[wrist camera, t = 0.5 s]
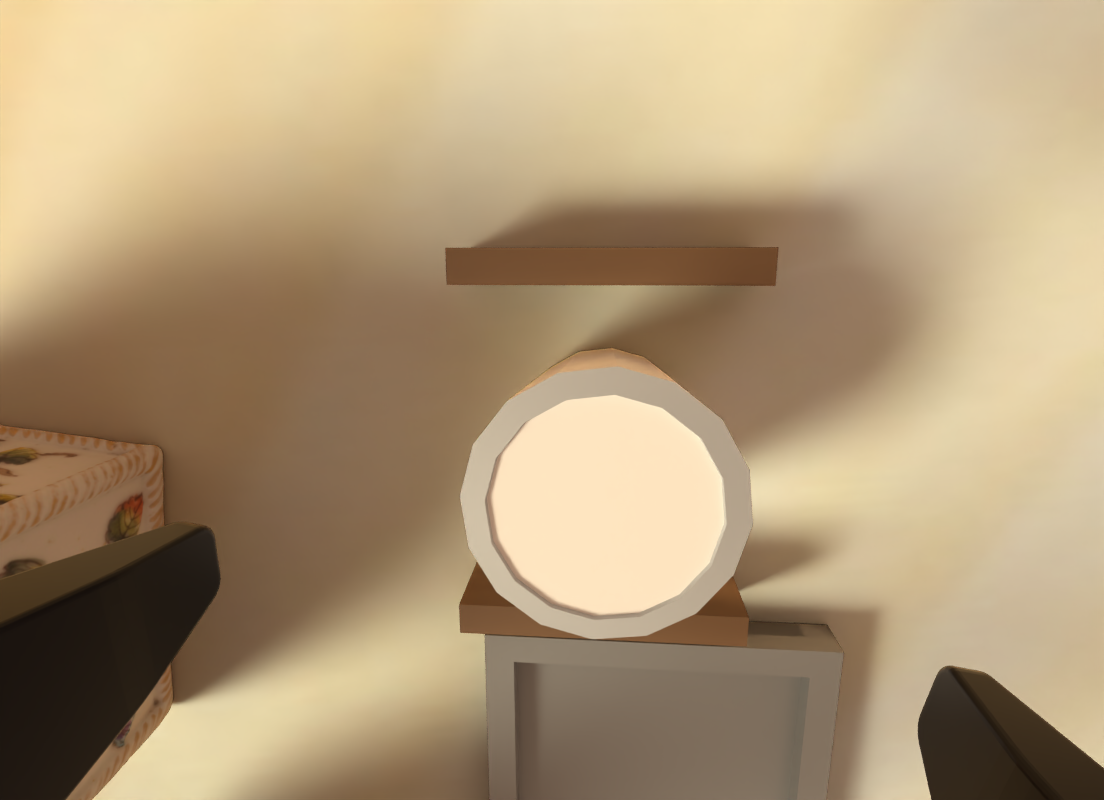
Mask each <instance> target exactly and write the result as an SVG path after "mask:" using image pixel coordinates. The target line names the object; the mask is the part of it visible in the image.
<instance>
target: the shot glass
mask: <svg viewBox="0 0 1104 800" xmlns="http://www.w3.org/2000/svg"><path fill="white" fill-rule="evenodd" d="M460 500H461V506H462V512H463V518H464V524H465V530H466V536H467V542H468V547H469V549H470V551H471V553H472V554H473V556H474V557H475V559H476V560H477V562H478V564H479V565H480V567H481V568H482V570H483V572H484V573H485V575H486V576H487V578H488V579H489V581H490V583H491V584H492V586H493V587H494V589H495V590H496V592H497V593H498V594H500V595H501V596H502V597H504V598H505V599H506V600H508V601H509V602H510V603H512V604H513V605H514V606H516V607H517V608H519V609H520V610H521V611H523V612H524V613H525V614H527V615H528V616H529V617H531V618H532V619H533V620H535V621H536V622H538V623H539V624H541V625H544V626H548V627H551V628H555V629H558V630H562V631H565V632H568V633H572V634H575V635H579V636H582V637H586V638H589V639H605V638H621V637H636V636H647V635H649V634H652V633H654V632H656V631H658V630H661V629H663V628H665V627H667V626H670V625H672V624H674V623H676V622H679V621H681V620H683V619H685V618H688V617H690V616H692V615H694V614H696V613H697V612H698V611H699V610H700V609H701V608H702V607H703V606H704V605H705V604H706V603H707V602H708V601H709V600H710V599H711V598H712V597H713V596H714V595H715V594H716V593H717V592H718V591H719V590H720V589H721V588H722V587H723V586H724V584H725V583H726V582H727V581H728V580H729V579H730V578H731V577H732V576H733V575H734V573H735V570H736V568H737V565H738V562H739V560H740V557H741V555H742V552H743V549H744V547H745V544H746V541H747V539H748V536H749V534H750V531H751V528H752V526H753V518H752V502H751V486H750V470H749V468H748V466H747V464H746V462H745V461H744V459H743V457H742V455H741V453H740V451H739V449H738V447H737V446H736V444H735V442H734V440H733V438H732V436H731V434H730V432H729V431H728V429H727V427H726V425H725V423H724V421H723V419H721V418H720V417H719V416H718V415H716V414H715V413H714V412H713V411H711V410H710V409H709V408H708V407H706V406H705V405H704V404H703V403H701V402H700V401H699V400H698V399H696V398H695V397H694V396H693V395H691V394H690V393H689V392H688V391H686V390H685V389H684V388H683V387H681V386H680V385H679V384H678V383H676V382H675V381H674V380H673V379H671V378H670V377H669V376H668V375H666V374H665V373H664V372H663V371H661V370H660V369H659V368H658V367H656V366H655V365H654V364H652V363H651V362H650V361H649V360H647V359H646V358H645V357H643V356H639V355H635V354H632V353H628V352H625V351H621V350H618V349H614V348H607V349H598V350H589V351H581V352H578V353H576V354H574V355H572V356H570V357H568V358H567V359H565V360H563V361H561V362H559V363H558V364H556V365H554V366H552V367H550V368H549V369H548V370H546V371H545V372H544V373H543V374H541V375H540V376H539V377H537V378H536V379H535V380H533V381H532V382H531V383H530V384H528V385H527V386H526V387H524V388H523V389H522V390H521V391H519V392H518V393H517V394H515V395H514V396H513V397H511V398H510V399H509V400H508V401H506V403H505V404H504V405H503V407H502V408H501V409H500V410H499V412H498V413H497V414H496V416H495V417H494V418H493V419H492V421H491V422H490V423H489V425H488V426H487V427H486V428H485V430H484V431H483V432H482V433H481V435H480V436H479V437H478V439H477V440H476V441H475V442H474V444H473V446H472V450H471V454H470V458H469V462H468V466H467V470H466V474H465V478H464V482H463V486H462V490H461V494H460Z"/></svg>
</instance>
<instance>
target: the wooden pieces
mask: <svg viewBox="0 0 1104 800" xmlns="http://www.w3.org/2000/svg"><path fill="white" fill-rule="evenodd" d="M445 250H446V275H447V285H737V286H775V283H776V271H777V258H778V247H727V248H445ZM459 610H460V633H480V634H500V635H521V636H541V637H562V638H582V639H589V638H586V637H582V636H579V635H575V634H572V633H568V632H565V631H562V630H558V629H555V628H551V627H548V626H544V625H541V624H539V623H538V622H536V621H535V620H533V619H532V618H531V617H529V616H528V615H527V614H525V613H524V612H523V611H521V610H520V609H519V608H517V607H516V606H514V605H513V604H512V603H510V602H509V601H508V600H506V599H505V598H504V597H502V596H501V595H500V594H498V593H497V592H496V590H495V589H494V587H493V586H492V584H491V583H490V581H489V579H488V578H487V576H486V575H485V573H484V572H483V570H482V568H481V567H480V565H479V564H478V562H477V563H476V566H475V568H474V570H473V573H472V575H471V578H470V580H469V582H468V585H467V587H466V590H465V592H464V594H463V597H462V599H461V602H460V604H459ZM748 625H749V616H748V614H747V611H746V608H745V606H744V603H743V601H742V598H741V596H740V593H739V591H738V588H737V585H736V583H735V580H734V578H733V576H732V577H731V578H730V579H729V580H728V581H727V582H726V583H725V584H724V586H723V587H722V588H721V589H720V590H719V591H718V592H717V593H716V594H715V595H714V596H713V597H712V598H711V599H710V600H709V601H708V602H707V603H706V604H705V605H704V606H703V607H702V608H701V609H700V610H699V611H698V612H697V613H696V614H694V615H692V616H690V617H688V618H685V619H683V620H681V621H679V622H676V623H674V624H672V625H670V626H667V627H665V628H663V629H661V630H658V631H656V632H654V633H652V634H649V635H647V636H636V637H621V638H605V639H602V640H623V641H643V642H664V643H684V644H705V645H725V646H746V647H747V638H748Z"/></svg>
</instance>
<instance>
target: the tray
mask: <svg viewBox="0 0 1104 800" xmlns="http://www.w3.org/2000/svg"><path fill="white" fill-rule="evenodd" d="M843 656H844V652H843V651H842V649H841V647H840V646H839V644H838V642H837V640H836V639H835V637H834V635H833V634H832V632H831V630H830V629H829V627H828V625H818V624H796V623H774V622H752V621H749V625H748V638H747V647H746V646H725V645H705V644H684V643H664V642H643V641H623V640H602V639H582V638H562V637H541V636H521V635H500V634H485V662H486V697H487V732H488V766H489V800H826V798H827V790H828V781H829V773H830V765H831V756H832V748H833V739H834V731H835V723H836V714H837V706H838V698H839V689H840V681H841V672H842V664H843Z"/></svg>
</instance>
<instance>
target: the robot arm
mask: <svg viewBox="0 0 1104 800" xmlns="http://www.w3.org/2000/svg"><path fill="white" fill-rule="evenodd" d="M220 579H221V578H220V569H219V562H218V555H217V549H216V542H215V536H214V533H213V532H212V530H211V529H210V528H209V527H207V526H204V525H199V524H194V523H188V522H175V523H172V524H169V525H166V526H162V527H159V528H156V529H153V530H150V531H147V532H144V533H141V534H138V535H135V536H132V537H129V538H125V539H122V540H119V541H116V542H113V543H110V544H107V545H104V546H101V547H98V548H95V549H92V550H89V551H85V552H82V553H79V554H76V555H73V556H70V557H67V558H64V559H61V560H58V561H55V562H52V563H48V564H45V565H42V566H39V567H36V568H33V569H30V570H27V571H24V572H21V573H18V574H15V575H12V576H8V577H5V578H2V579H0V800H66V799H67V798H68V797H69V796H70V794H71V793H72V792H73V791H74V789H75V788H76V787H77V786H78V784H79V783H80V782H81V781H82V779H83V778H84V777H85V776H86V774H87V773H88V772H89V771H90V769H91V768H92V767H93V766H94V764H95V763H96V762H97V761H98V759H99V758H100V757H101V756H102V755H103V753H104V752H105V751H106V750H107V748H108V747H109V746H110V745H111V743H112V742H113V741H114V740H115V738H116V737H117V736H118V735H119V733H120V732H121V731H122V730H123V728H124V727H125V726H126V725H127V723H128V722H129V721H130V720H131V718H132V717H133V716H134V714H135V713H136V712H137V711H138V709H139V708H140V707H141V705H142V704H143V703H144V701H145V700H146V699H147V697H148V696H149V694H150V693H151V691H152V690H153V689H154V687H155V686H156V684H157V683H158V682H159V680H160V679H161V677H162V676H163V674H164V673H165V671H166V670H167V668H168V667H169V665H170V664H171V662H172V661H173V659H174V658H175V656H176V655H177V653H178V652H179V650H180V649H181V647H182V646H183V644H184V643H185V641H186V640H187V638H188V637H189V635H190V634H191V632H192V631H193V629H194V628H195V626H196V625H197V623H198V622H199V620H200V619H201V617H202V616H203V614H204V613H205V611H206V610H207V608H208V607H209V605H210V604H211V602H212V601H213V599H214V598H215V596H216V594H217V591H218V589H219V585H220ZM918 739H919V745H920V749H921V754H922V758H923V763H924V768H925V772H926V777H927V781H928V786H929V791H930V795H931V800H1104V768H1103V767H1102V766H1100V765H1099V764H1098V763H1097V762H1095V761H1094V760H1093V759H1092V758H1091V757H1089V756H1088V755H1087V754H1086V753H1084V752H1083V751H1082V750H1081V749H1079V748H1078V747H1077V746H1076V745H1075V744H1073V743H1072V742H1071V741H1070V740H1068V739H1067V738H1066V737H1065V736H1063V735H1062V734H1061V733H1060V732H1059V731H1057V730H1056V729H1055V728H1054V727H1052V726H1051V725H1050V724H1049V723H1048V722H1046V721H1045V720H1044V719H1043V718H1041V717H1040V716H1039V715H1038V714H1036V713H1035V712H1034V711H1033V710H1032V709H1030V708H1029V707H1028V706H1027V705H1025V704H1024V703H1023V702H1022V701H1020V700H1019V699H1018V698H1017V697H1016V696H1014V695H1013V694H1012V693H1011V692H1009V691H1008V690H1007V689H1006V688H1004V687H1003V686H1002V685H1001V684H1000V683H998V682H997V681H996V680H995V679H993V678H992V677H991V676H989V675H988V674H986V673H984V672H981V671H977V670H972V669H966V668H961V667H956V666H945V667H943V668H942V669H941V670H940V671H939V672H938V674H937V676H936V678H935V680H934V683H933V685H932V688H931V690H930V693H929V695H928V697H927V700H926V702H925V705H924V707H923V709H922V712H921V714H920V717H919V722H918Z"/></svg>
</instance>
